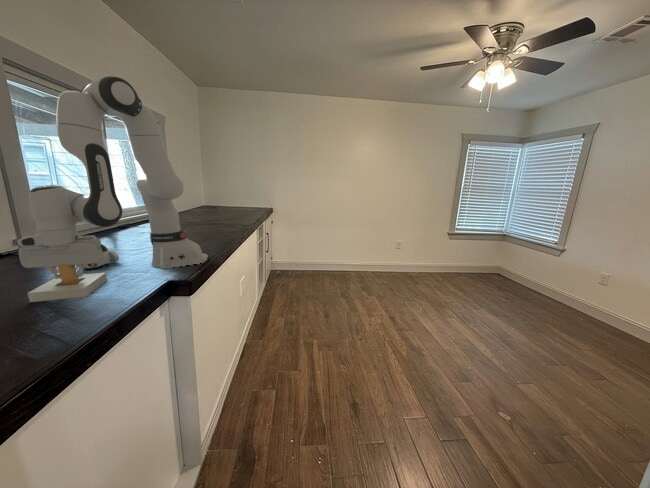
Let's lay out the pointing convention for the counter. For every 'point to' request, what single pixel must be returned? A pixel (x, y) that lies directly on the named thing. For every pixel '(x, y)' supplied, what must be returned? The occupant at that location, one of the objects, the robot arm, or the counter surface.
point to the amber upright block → (68, 274)
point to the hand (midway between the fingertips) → (69, 277)
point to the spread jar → (108, 257)
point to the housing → (67, 288)
